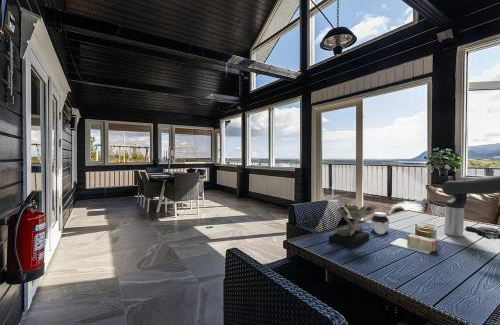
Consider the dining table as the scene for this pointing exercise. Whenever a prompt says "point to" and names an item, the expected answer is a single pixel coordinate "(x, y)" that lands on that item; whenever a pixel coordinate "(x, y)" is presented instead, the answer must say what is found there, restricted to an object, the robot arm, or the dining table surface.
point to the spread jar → (380, 222)
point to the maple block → (422, 242)
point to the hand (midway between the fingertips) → (465, 228)
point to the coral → (351, 227)
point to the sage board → (403, 244)
